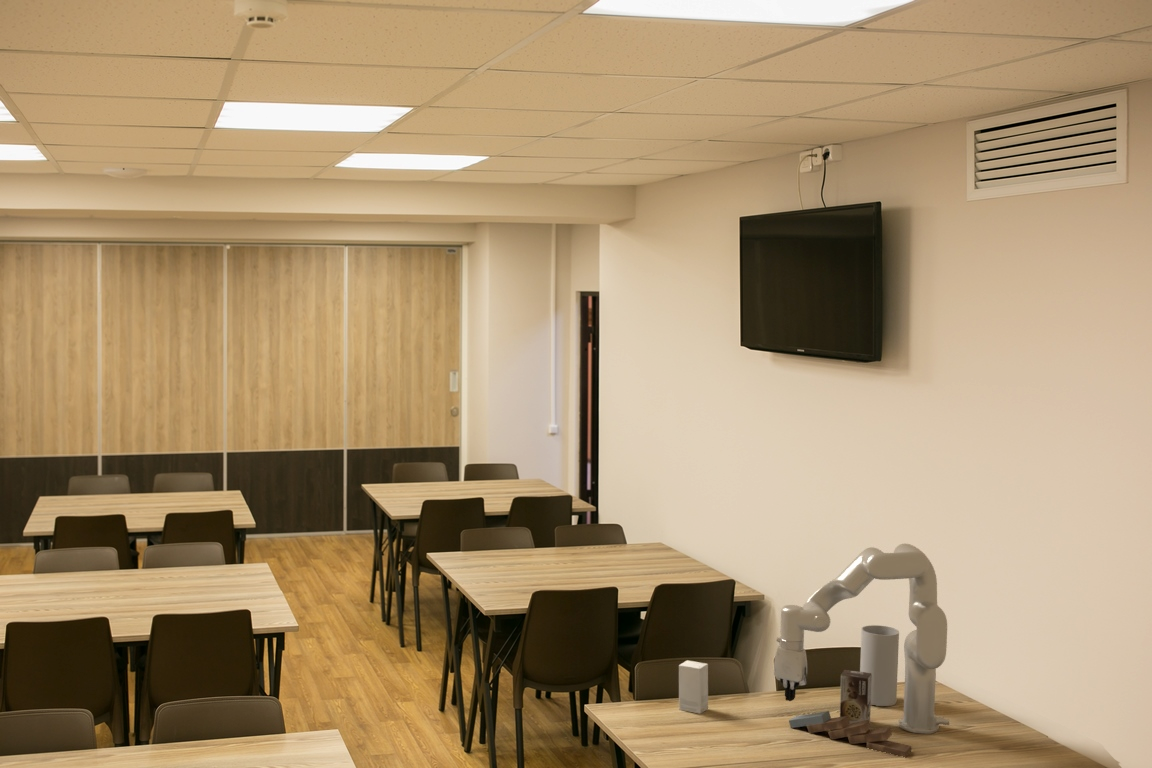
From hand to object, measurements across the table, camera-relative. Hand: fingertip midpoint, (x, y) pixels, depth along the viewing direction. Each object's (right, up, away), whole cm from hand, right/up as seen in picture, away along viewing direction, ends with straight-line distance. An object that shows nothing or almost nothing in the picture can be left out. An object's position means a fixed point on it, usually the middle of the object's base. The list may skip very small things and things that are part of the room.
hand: (789, 699), depth 361 cm
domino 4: (+22, -9, -16) cm, 28 cm away
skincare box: (-30, -7, +13) cm, 33 cm away
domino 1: (+6, -8, -4) cm, 11 cm away
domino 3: (+17, -8, -13) cm, 23 cm away
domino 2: (+12, -8, -9) cm, 17 cm away
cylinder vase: (+35, -8, +25) cm, 44 cm away
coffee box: (+22, -9, +4) cm, 24 cm away
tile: (+1, -7, 0) cm, 7 cm away
